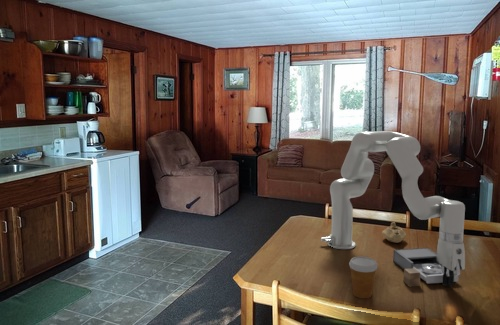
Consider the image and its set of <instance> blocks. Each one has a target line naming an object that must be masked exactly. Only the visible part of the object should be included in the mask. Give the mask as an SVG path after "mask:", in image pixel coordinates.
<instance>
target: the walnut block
mask: <svg viewBox="0 0 500 325" xmlns="http://www.w3.org/2000/svg"><path fill="white" fill-rule="evenodd" d="M403 283H404V284H406V285H407V286H408V287H420V283H421V277H420V272H419V271H417V270H416V269H415V268H410V269H403Z"/></svg>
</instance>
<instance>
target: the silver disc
mask: <svg viewBox="0 0 500 325" xmlns="http://www.w3.org/2000/svg"><path fill="white" fill-rule="evenodd" d="M421 271H422V272H423V273H425V274H427V275H435V274H441V267H439V266H437V265H434V264H423V265H422V266H421Z"/></svg>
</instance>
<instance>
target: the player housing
mask: <svg viewBox="0 0 500 325" xmlns="http://www.w3.org/2000/svg"><path fill="white" fill-rule="evenodd" d="M392 255H393V256H392V258H393V259H392V262H393V263H395V264H396V265H397V266H398V267H400V269H403V270H404V269H410V268H413V266H414V264H426V263H438V264H439V262H438V261H437V252H435V251H433V250H431V249H430V248H428V247H417V248H403V249H393V254H392ZM439 265H440V264H439Z"/></svg>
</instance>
